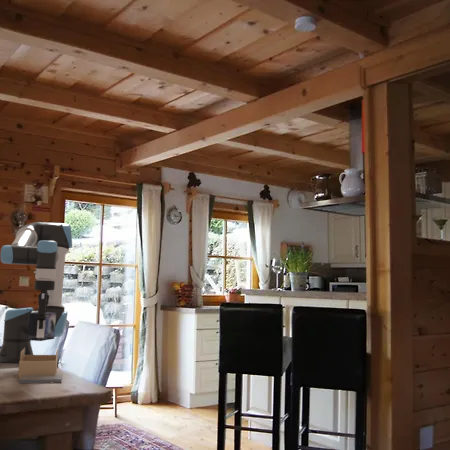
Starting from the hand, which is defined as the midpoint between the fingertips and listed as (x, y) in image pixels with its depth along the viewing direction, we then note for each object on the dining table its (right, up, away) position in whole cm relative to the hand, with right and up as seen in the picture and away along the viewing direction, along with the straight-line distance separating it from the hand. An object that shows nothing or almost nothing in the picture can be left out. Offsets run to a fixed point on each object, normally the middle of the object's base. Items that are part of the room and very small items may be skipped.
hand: (41, 336), depth 213 cm
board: (+6, -13, -17) cm, 22 cm away
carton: (0, -14, -2) cm, 14 cm away
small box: (0, -2, 0) cm, 2 cm away
